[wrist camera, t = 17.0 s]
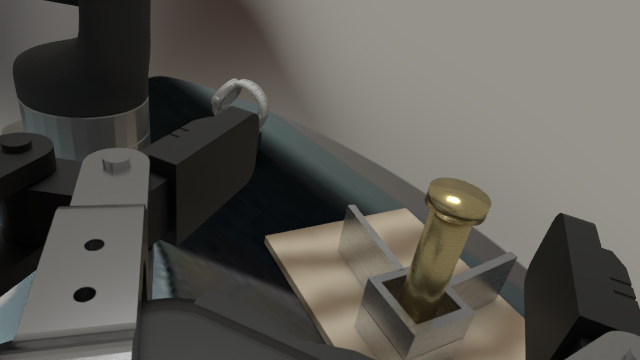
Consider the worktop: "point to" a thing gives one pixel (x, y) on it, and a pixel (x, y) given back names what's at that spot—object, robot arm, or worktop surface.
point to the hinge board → (346, 293)
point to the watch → (231, 93)
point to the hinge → (385, 288)
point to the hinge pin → (441, 244)
